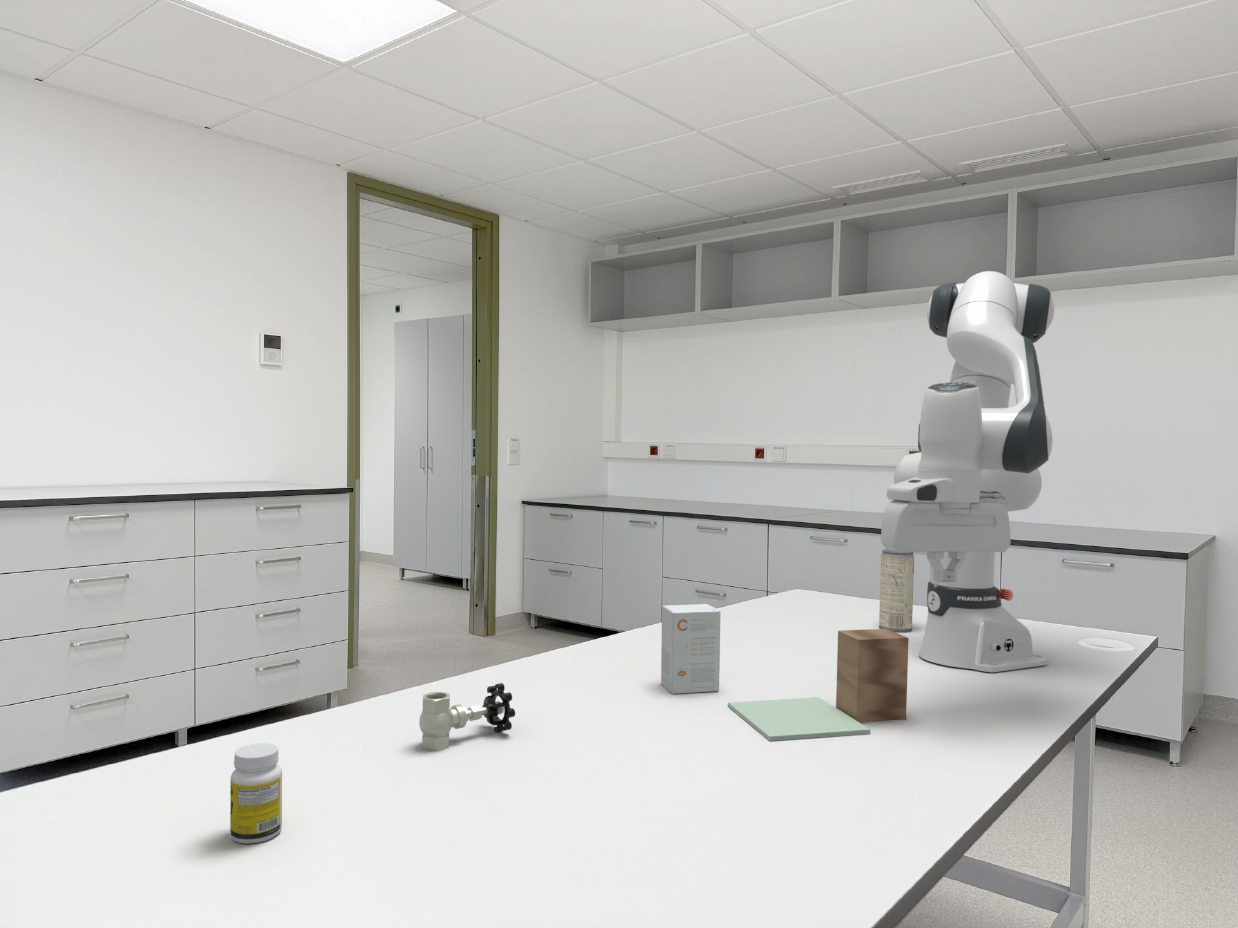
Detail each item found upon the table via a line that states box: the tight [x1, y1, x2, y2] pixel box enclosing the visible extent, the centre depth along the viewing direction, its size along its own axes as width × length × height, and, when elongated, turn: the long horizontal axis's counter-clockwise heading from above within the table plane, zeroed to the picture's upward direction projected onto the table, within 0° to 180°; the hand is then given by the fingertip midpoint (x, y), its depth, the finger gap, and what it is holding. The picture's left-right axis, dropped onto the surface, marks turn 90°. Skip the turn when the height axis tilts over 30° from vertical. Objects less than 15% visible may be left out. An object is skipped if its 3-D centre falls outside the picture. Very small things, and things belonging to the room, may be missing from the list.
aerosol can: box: [878, 549, 915, 633], centre depth 185 cm, size 7×7×20 cm
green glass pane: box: [727, 696, 871, 742], centre depth 122 cm, size 15×15×1 cm
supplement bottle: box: [229, 742, 283, 845], centre depth 84 cm, size 5×5×8 cm
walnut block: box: [835, 628, 909, 724], centre depth 125 cm, size 8×6×12 cm
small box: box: [660, 603, 721, 695], centre depth 137 cm, size 8×6×13 cm
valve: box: [418, 682, 516, 752], centre depth 112 cm, size 7×7×12 cm
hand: (945, 581), depth 128 cm, fingers closed
